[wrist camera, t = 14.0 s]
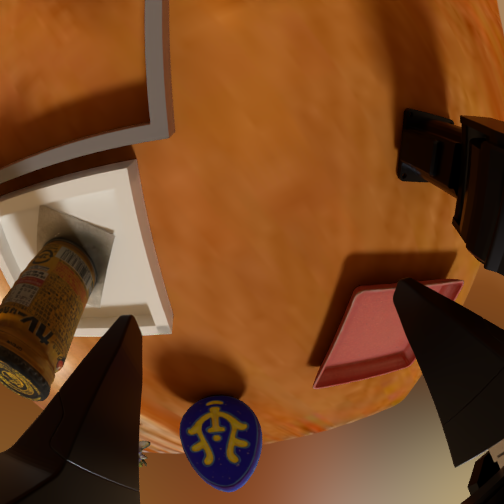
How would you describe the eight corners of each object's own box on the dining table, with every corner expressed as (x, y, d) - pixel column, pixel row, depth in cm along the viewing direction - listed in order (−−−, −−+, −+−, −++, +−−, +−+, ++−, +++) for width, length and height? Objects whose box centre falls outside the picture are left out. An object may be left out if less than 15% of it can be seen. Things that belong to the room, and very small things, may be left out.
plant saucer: (305, 372, 35) (311, 391, 33) (344, 271, 26) (358, 292, 23) (401, 352, 38) (410, 367, 36) (452, 265, 29) (466, 280, 26)
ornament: (251, 381, 34) (271, 483, 21) (257, 406, 39) (273, 489, 26) (173, 390, 33) (175, 489, 21) (191, 414, 38) (196, 495, 26)
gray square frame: (174, -82, 6) (171, -100, 3) (175, 131, 16) (169, 138, 14) (-22, 8, 4) (-40, 6, 1) (-17, 187, 14) (-36, 200, 12)
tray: (136, 158, 17) (127, 168, 15) (173, 314, 25) (171, 333, 23) (-8, 199, 15) (-23, 211, 13) (47, 319, 23) (39, 335, 21)
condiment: (37, 280, 20) (-15, 380, 10) (40, 203, 16) (-50, 303, 6) (100, 307, 22) (68, 421, 12) (116, 233, 19) (58, 365, 9)
